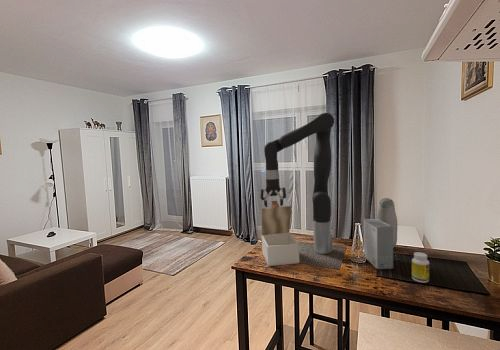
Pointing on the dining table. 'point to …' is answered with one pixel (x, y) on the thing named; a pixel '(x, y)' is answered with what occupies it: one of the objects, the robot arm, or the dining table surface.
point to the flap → (276, 219)
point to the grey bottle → (388, 216)
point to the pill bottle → (420, 267)
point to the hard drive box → (378, 243)
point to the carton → (280, 249)
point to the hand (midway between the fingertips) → (273, 206)
